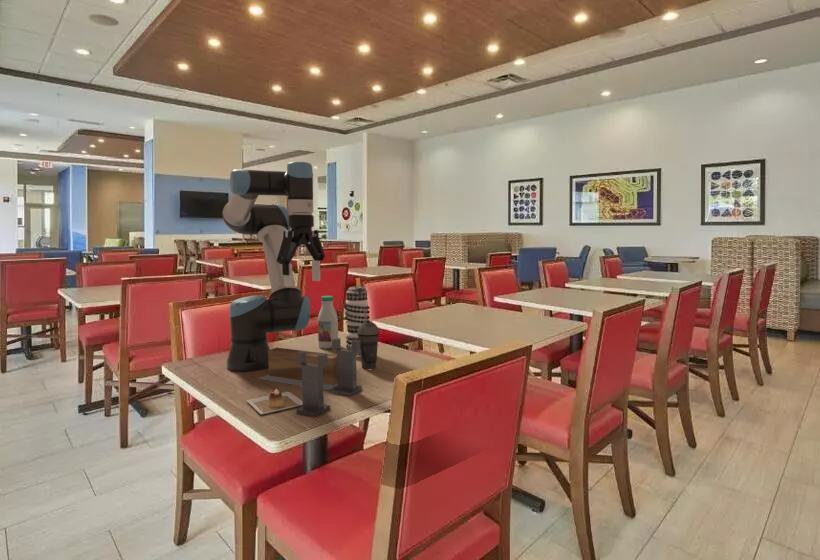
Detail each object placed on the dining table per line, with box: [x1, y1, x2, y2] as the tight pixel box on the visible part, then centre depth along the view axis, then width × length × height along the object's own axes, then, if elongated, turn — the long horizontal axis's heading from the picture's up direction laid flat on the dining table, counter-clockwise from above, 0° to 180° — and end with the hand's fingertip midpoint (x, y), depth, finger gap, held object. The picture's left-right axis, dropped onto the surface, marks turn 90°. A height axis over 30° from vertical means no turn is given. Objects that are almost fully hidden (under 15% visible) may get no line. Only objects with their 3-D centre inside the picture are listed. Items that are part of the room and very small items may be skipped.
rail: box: [268, 347, 338, 385], centre depth 148 cm, size 4×24×8 cm, turn 65°
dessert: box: [246, 388, 303, 415], centre depth 128 cm, size 12×12×5 cm
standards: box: [295, 337, 363, 418], centre depth 129 cm, size 8×22×15 cm, turn 155°
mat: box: [259, 373, 338, 391], centre depth 148 cm, size 26×10×1 cm, turn 65°
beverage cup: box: [357, 308, 380, 370], centre depth 159 cm, size 7×7×20 cm
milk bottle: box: [317, 295, 339, 350], centre depth 188 cm, size 8×8×20 cm
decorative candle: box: [344, 285, 371, 357], centre depth 176 cm, size 9×9×25 cm
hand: (302, 283), depth 149 cm, fingers open, 13 cm apart
